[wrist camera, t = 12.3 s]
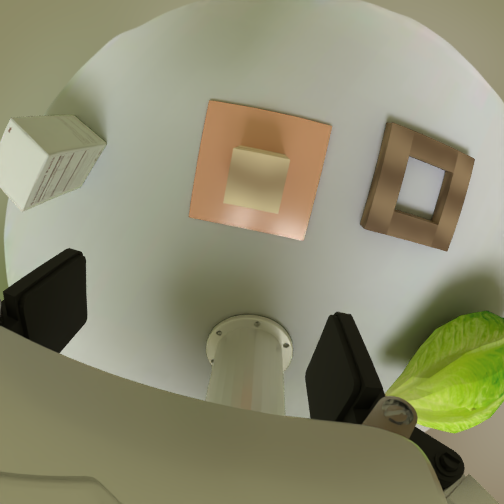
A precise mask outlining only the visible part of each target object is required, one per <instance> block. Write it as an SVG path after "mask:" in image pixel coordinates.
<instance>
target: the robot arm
mask: <svg viewBox="0 0 504 504" xmlns="http://www.w3.org/2000/svg"><path fill="white" fill-rule="evenodd" d="M3 295H4V300H3V301H2V302H1V300H0V504H499V503H498V502H497V501H496V500H495V499H494V498H493V497H492V496H491V495H490V494H489V493H488V492H487V491H486V490H485V489H484V488H483V487H482V486H481V485H480V484H479V483H478V482H477V481H476V480H475V479H474V478H473V477H472V476H471V475H469V474H468V475H467V476H465V475H464V474H463V473H464V463H463V461H462V459H461V457H460V456H459V455H458V454H457V453H456V452H454V450H452V449H450V448H449V447H447V446H445V445H444V444H442V443H440V442H439V441H437V440H436V439H434V438H432V437H431V436H429V435H428V434H426V433H424V432H423V431H421V430H420V429H418V428H416V427H415V425H416V423H417V419H418V417H417V412H416V411H415V409H414V407H413V406H412V405H411V404H410V403H408V402H407V401H406V400H404V399H402V398H399V397H395V396H385V394H384V391H383V387H382V385H381V382H380V380H379V377H378V375H377V372H376V370H375V368H374V365H373V363H372V360H371V358H370V356H369V353H368V351H367V349H366V346H365V344H364V342H363V339H362V337H361V335H360V333H359V330H358V328H357V326H356V324H355V321H354V319H353V317H352V315H351V314H345V313H340V312H336V313H335V314H334V315H330V316H329V317H328V320H327V322H326V325H325V327H324V330H323V332H322V335H321V337H320V340H319V342H318V344H317V347H316V349H315V352H314V354H313V356H312V359H311V361H310V363H309V365H308V368H307V370H306V375H305V380H306V387H307V395H308V402H309V410H310V418H311V419H310V418H301V417H293V416H285V397H284V377H283V372H284V371H285V370H286V369H287V367H288V366H289V364H290V362H291V360H292V356H293V346H292V341H291V338H290V336H289V334H288V333H287V332H286V330H285V329H284V328H283V327H282V326H281V325H279V324H278V323H276V322H275V321H273V320H271V319H268V318H266V317H262V316H257V315H238V316H234V317H230V318H228V319H226V320H223V321H222V322H220V323H219V324H218V325H216V326H215V327H214V329H213V330H212V331H211V333H210V334H209V337H208V340H207V344H206V355H207V357H208V360H209V362H210V364H211V365H212V366H213V367H212V371H211V376H210V380H209V385H208V390H207V394H206V399H205V401H203V400H199V399H195V398H191V397H187V396H183V395H179V394H175V393H171V392H168V391H164V390H161V389H157V388H154V387H150V386H147V385H144V384H141V383H137V382H134V381H131V380H128V379H125V378H122V377H119V376H116V375H113V374H110V373H108V372H105V371H102V370H99V369H97V368H94V367H91V366H89V365H86V364H84V363H81V362H79V361H76V360H74V359H71V358H69V357H66V356H64V355H62V354H59V353H60V352H61V351H62V350H63V348H64V347H65V346H66V345H67V344H68V343H69V341H70V340H71V339H72V338H73V337H74V336H75V334H76V333H77V332H78V331H79V330H80V329H81V328H82V327H83V325H84V324H85V323H86V320H87V298H86V258H85V257H84V256H83V254H82V252H81V251H77V250H74V249H70V248H68V249H66V250H64V251H63V252H61V253H59V254H58V255H56V256H55V257H53V258H52V259H50V260H49V261H47V262H45V263H44V264H42V265H41V266H39V267H38V268H36V269H35V270H33V271H32V272H30V273H29V274H27V275H26V276H24V277H23V278H22V279H20V280H19V281H17V282H16V283H14V284H13V285H11V286H10V287H9V288H7V289H6V290H4V291H3ZM257 321H258V322H257Z"/></svg>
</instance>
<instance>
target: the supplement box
mask: <svg viewBox="0 0 504 504" xmlns="http://www.w3.org/2000/svg"><path fill="white" fill-rule="evenodd" d="M106 145H107V143H106V142H105V141H104V140H102V139H101V138H100V137H99V136H98V135H97V134H95V133H94V132H93V131H92V130H91V129H90V128H88V127H87V126H86V125H85V124H84V123H83V122H81V121H80V120H79V119H78V118H77V117H75V116H74V115H51V116H28V117H14V118H11V119H10V121H9V123H8V125H7V127H6V129H5V132H4V134H3V137H2V139H1V142H0V188H1V189H2V190H3V191H4V192H5V194H6V195H7V196H8V197H9V198H10V199H11V200H12V201H13V203H14V204H15V205H16V206H17V207H18V208H19V209H20V210H21V211H22V212H24V211H26V210H28V209H30V208H32V207H35V206H37V205H39V204H41V203H44V202H46V201H48V200H51V199H53V198H55V197H58V196H60V195H63V194H65V193H68V192H70V191H73V190H75V189H78V188H80V187H82V185H83V183H84V181H85V180H86V178H87V176H88V174H89V173H90V171H91V169H92V168H93V166H94V164H95V163H96V161H97V159H98V158H99V156H100V155H101V153H102V151H103V150H104V148H105V147H106Z"/></svg>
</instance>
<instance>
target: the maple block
mask: <svg viewBox="0 0 504 504" xmlns="http://www.w3.org/2000/svg"><path fill="white" fill-rule="evenodd" d="M289 163H290V159H289V158H288V157H287V156H286V155H285V154H281V153H277V152H272V151H267V150H262V149H257V148H252V147H247V146H241V145H240V146H238V147H235V148H233V152H232V158H231V163H230V168H229V173H228V179H227V184H226V190H225V195H224V201H223V203H225V204H231V205H236V206H241V207H246V208H251V209H256V210H261V211H266V212H270V213H275V214H278V212H279V208H280V203H281V199H282V195H283V190H284V186H285V181H286V177H287V172H288V168H289Z"/></svg>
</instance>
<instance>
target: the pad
mask: <svg viewBox="0 0 504 504" xmlns="http://www.w3.org/2000/svg"><path fill="white" fill-rule="evenodd" d="M331 129H332V126H330V125H326V124H322V123H319V122H315V121H311V120H307V119H303V118H299V117H295V116H290V115H286V114H282V113H277V112H272V111H268V110H263V109H258V108H252V107H247V106H241V105H236V104H230V103H223V102H217V101H210V100H209V104H208V109H207V114H206V119H205V124H204V129H203V134H202V139H201V145H200V150H199V156H198V161H197V167H196V173H195V179H194V185H193V192H192V198H191V205H190V211H189V217H190V218H195V219H200V220H205V221H210V222H215V223H220V224H225V225H230V226H235V227H240V228H245V229H250V230H254V231H259V232H264V233H269V234H273V235H278V236H283V237H288V238H292V239H297V240H301V241H304V237H305V233H306V230H307V226H308V222H309V218H310V215H311V211H312V207H313V203H314V199H315V195H316V191H317V187H318V183H319V179H320V175H321V171H322V167H323V163H324V159H325V155H326V151H327V146H328V142H329V138H330V134H331ZM240 145H241V146H247V147H252V148H257V149H262V150H267V151H272V152H277V153H281V154H285V155H286V156H287V157H288V158H289V159H290V163H289V168H288V172H287V177H286V181H285V186H284V190H283V195H282V199H281V203H280V208H279V212H278V214H275V213H270V212H266V211H261V210H256V209H251V208H246V207H241V206H236V205H231V204H225V203H223V201H224V195H225V190H226V184H227V179H228V173H229V168H230V163H231V158H232V152H233V148H235V147H238V146H240Z"/></svg>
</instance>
